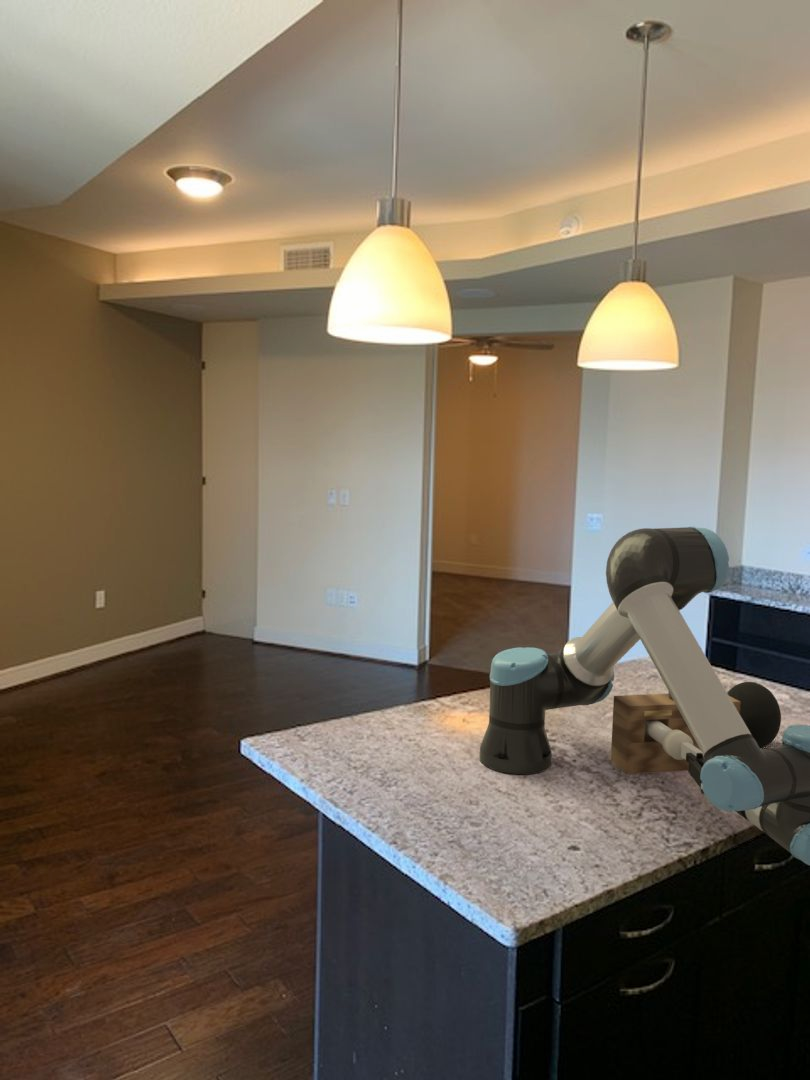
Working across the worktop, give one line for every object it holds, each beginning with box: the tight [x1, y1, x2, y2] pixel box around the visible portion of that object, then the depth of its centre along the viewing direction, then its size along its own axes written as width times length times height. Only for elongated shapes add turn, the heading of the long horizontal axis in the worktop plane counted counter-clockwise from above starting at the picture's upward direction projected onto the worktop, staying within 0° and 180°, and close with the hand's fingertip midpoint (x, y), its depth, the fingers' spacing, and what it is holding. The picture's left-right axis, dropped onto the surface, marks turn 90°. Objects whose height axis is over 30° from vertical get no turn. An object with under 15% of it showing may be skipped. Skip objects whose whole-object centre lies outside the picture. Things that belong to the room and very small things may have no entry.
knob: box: [645, 719, 693, 760], centre depth 158 cm, size 5×15×5 cm, turn 11°
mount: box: [610, 693, 741, 775], centre depth 164 cm, size 25×7×14 cm, turn 101°
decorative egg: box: [726, 681, 782, 749], centre depth 175 cm, size 12×12×15 cm
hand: (684, 749), depth 149 cm, fingers closed
